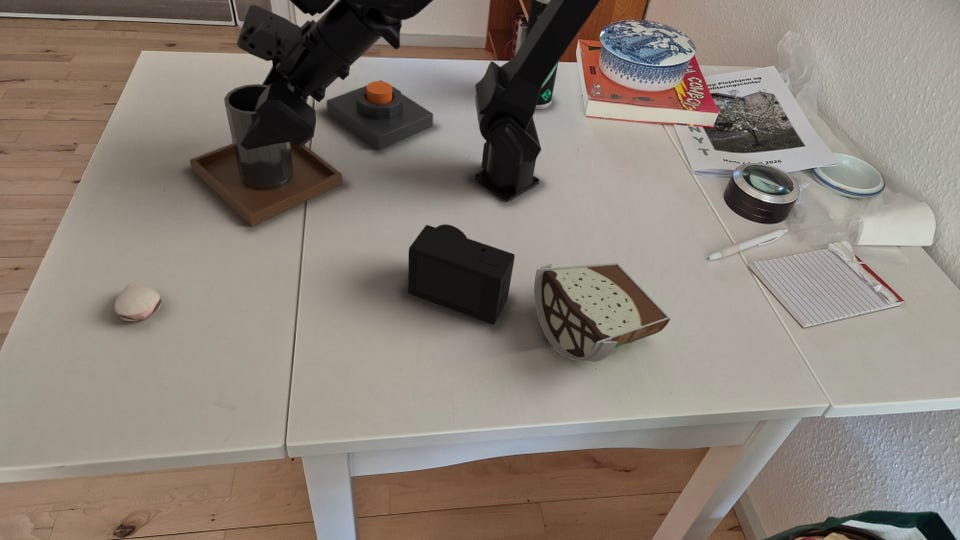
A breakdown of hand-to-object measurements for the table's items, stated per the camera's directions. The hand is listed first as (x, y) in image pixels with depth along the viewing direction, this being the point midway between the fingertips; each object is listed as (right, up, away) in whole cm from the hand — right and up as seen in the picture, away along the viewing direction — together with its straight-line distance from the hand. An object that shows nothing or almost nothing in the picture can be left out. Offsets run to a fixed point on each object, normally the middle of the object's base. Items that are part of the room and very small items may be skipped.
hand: (249, 124), depth 80 cm
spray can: (+36, +9, +25) cm, 45 cm away
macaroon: (-7, -22, -11) cm, 26 cm away
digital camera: (+26, -20, -6) cm, 33 cm away
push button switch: (+13, +5, +17) cm, 22 cm away
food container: (+45, -22, -8) cm, 50 cm away
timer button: (+13, +7, +15) cm, 21 cm away
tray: (0, -6, +6) cm, 8 cm away
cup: (0, -5, +5) cm, 7 cm away
